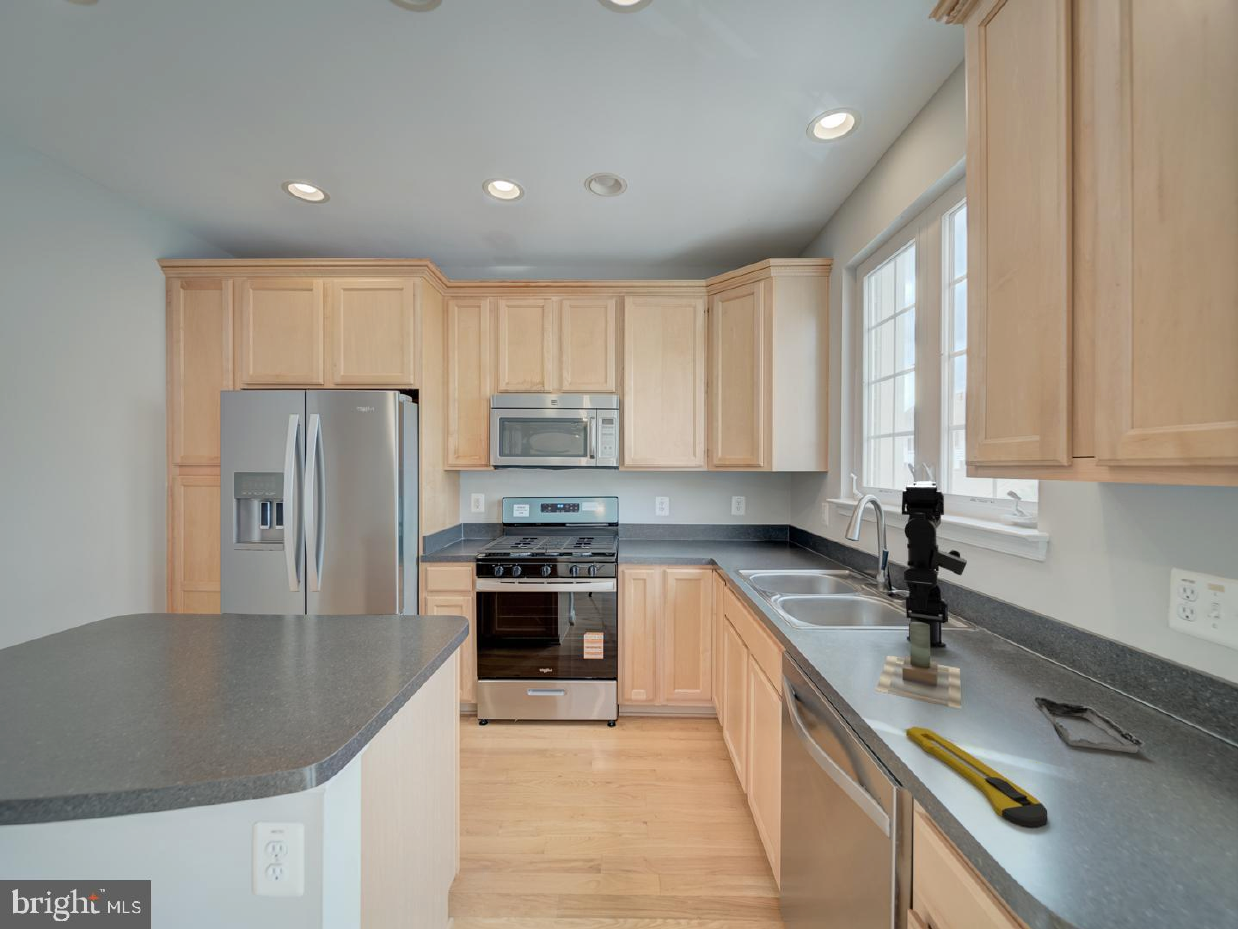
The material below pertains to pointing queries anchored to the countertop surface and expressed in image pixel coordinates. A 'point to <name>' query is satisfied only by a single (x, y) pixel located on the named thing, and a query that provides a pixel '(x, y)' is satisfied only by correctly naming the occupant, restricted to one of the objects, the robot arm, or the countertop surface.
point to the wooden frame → (942, 694)
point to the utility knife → (985, 780)
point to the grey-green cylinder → (920, 657)
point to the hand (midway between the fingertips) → (922, 606)
